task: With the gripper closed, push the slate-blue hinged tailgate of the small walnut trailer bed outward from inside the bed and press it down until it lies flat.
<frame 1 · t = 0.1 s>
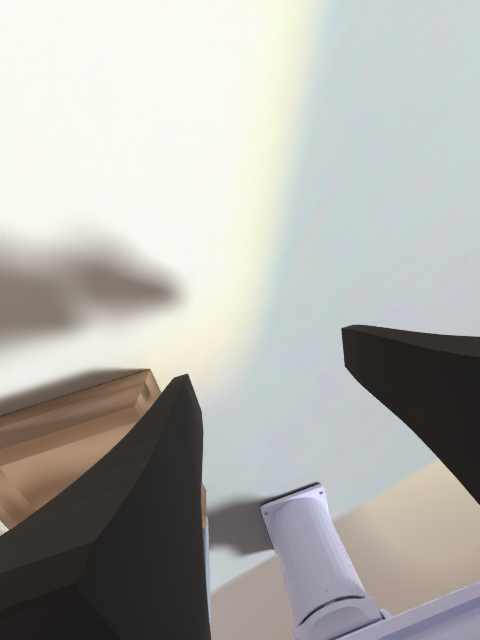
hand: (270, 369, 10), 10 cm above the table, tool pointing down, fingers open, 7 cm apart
tailgate: (132, 589, 20), point 5 cm above the table, hinge at 0.0°
trailer bed: (111, 460, 22), on the table
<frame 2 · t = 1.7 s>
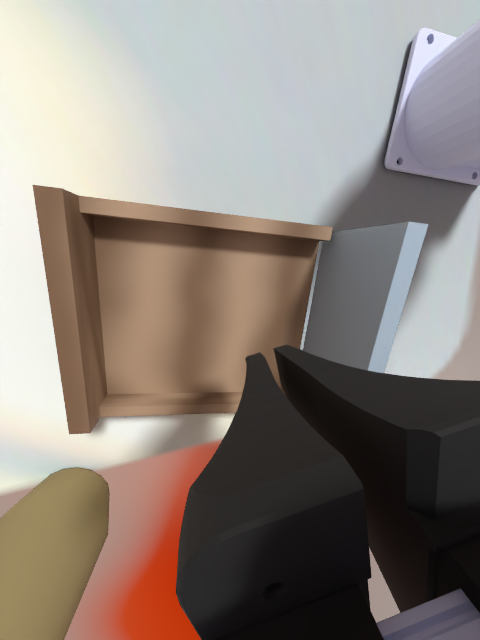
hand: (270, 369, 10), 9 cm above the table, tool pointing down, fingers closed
tailgate: (341, 340, 15), point 5 cm above the table, hinge at 0.0°
squeeze bottle: (77, 487, 22), on the table
trailer bed: (202, 312, 19), on the table
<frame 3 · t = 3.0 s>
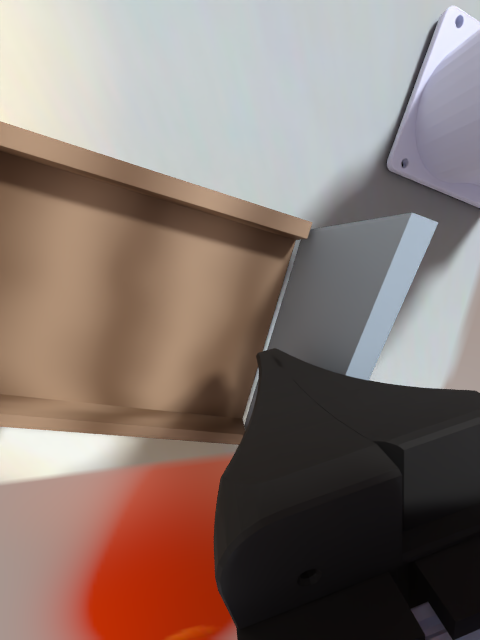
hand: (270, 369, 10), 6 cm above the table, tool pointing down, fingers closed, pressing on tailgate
tailgate: (304, 367, 12), point 5 cm above the table, hinge at 1.1°, touching gripper
trailer bed: (143, 305, 15), on the table
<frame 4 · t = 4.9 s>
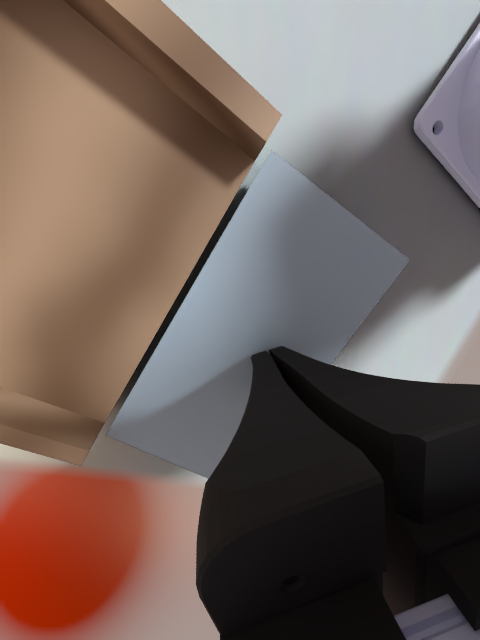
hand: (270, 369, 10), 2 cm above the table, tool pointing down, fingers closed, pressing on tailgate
tailgate: (248, 346, 11), point 2 cm above the table, hinge at 84.3°, touching gripper
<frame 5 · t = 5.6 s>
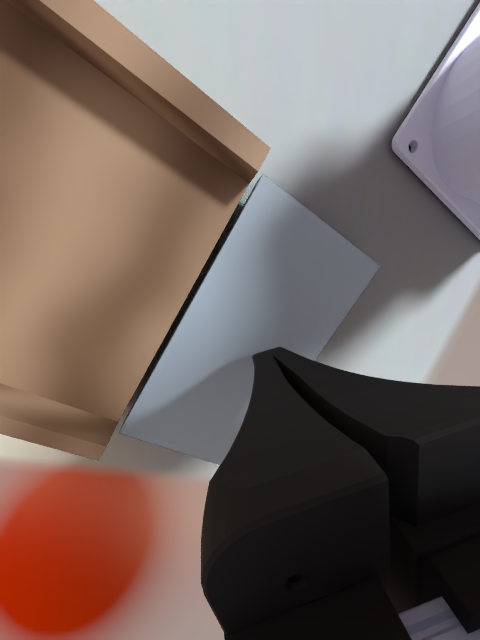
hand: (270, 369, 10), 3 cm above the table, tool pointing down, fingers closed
tailgate: (245, 345, 12), point 1 cm above the table, hinge at 90.0°
trailer bed: (8, 216, 10), on the table
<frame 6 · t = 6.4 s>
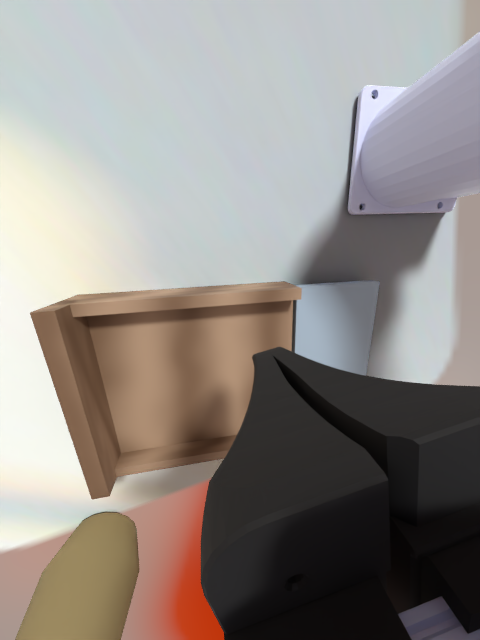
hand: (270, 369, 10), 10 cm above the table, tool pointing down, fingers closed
tailgate: (328, 358, 21), point 1 cm above the table, hinge at 90.1°
squeeze bottle: (108, 527, 24), on the table
trailer bed: (196, 366, 20), on the table
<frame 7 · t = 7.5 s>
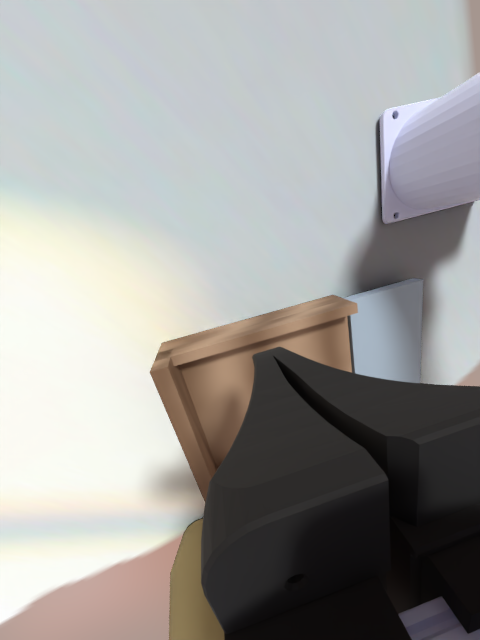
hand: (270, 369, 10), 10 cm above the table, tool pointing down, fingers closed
tailgate: (382, 355, 22), point 1 cm above the table, hinge at 90.1°
squeeze bottle: (208, 530, 28), on the table
trailer bed: (265, 382, 23), on the table
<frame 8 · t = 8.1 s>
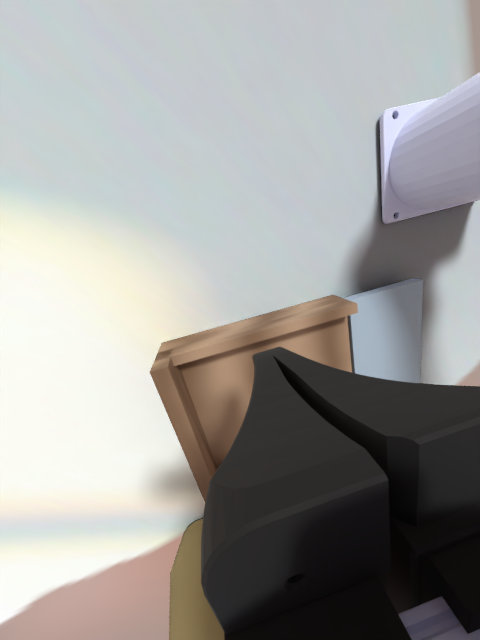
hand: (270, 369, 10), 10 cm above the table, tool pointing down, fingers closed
tailgate: (382, 355, 22), point 1 cm above the table, hinge at 90.1°
squeeze bottle: (208, 530, 28), on the table
trailer bed: (265, 382, 23), on the table
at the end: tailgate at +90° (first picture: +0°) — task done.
